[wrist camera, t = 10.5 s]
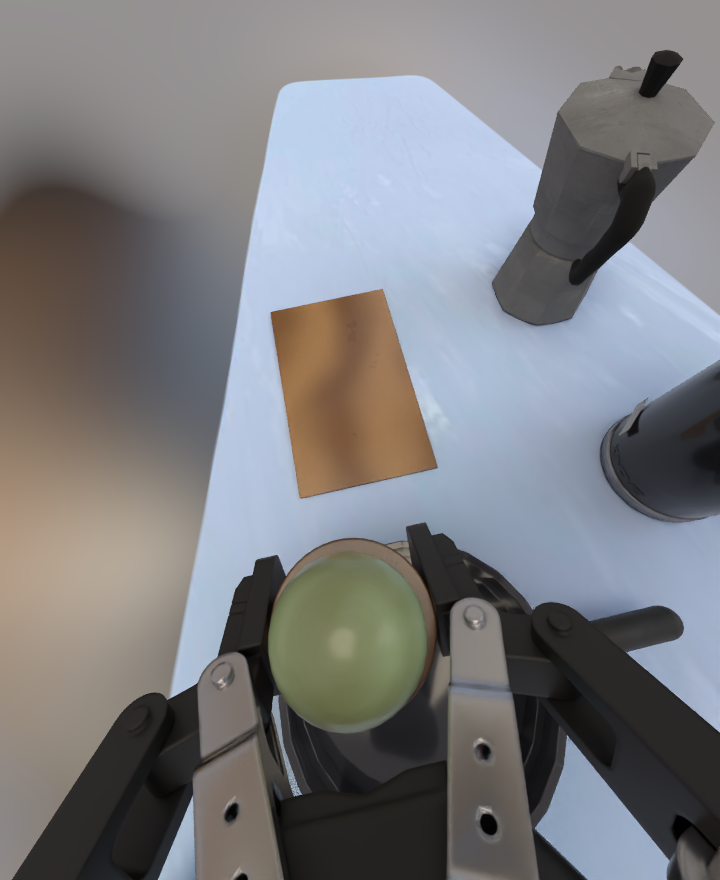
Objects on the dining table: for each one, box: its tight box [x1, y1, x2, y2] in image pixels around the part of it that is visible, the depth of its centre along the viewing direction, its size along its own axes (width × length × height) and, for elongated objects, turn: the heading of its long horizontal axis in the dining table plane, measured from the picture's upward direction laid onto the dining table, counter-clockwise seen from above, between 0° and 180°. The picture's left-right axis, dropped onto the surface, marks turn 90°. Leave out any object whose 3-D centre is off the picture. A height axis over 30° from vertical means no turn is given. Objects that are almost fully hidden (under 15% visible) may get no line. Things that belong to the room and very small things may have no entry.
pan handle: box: [590, 606, 684, 652], centre depth 23 cm, size 9×2×2 cm, turn 102°
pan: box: [279, 541, 567, 828], centre depth 24 cm, size 17×17×4 cm
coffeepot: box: [492, 50, 714, 325], centre depth 28 cm, size 15×9×18 cm, turn 168°
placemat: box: [271, 289, 437, 498], centre depth 34 cm, size 12×20×1 cm, turn 12°
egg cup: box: [268, 538, 437, 734], centre depth 12 cm, size 5×5×10 cm
